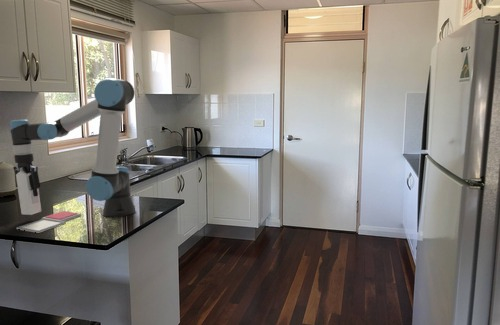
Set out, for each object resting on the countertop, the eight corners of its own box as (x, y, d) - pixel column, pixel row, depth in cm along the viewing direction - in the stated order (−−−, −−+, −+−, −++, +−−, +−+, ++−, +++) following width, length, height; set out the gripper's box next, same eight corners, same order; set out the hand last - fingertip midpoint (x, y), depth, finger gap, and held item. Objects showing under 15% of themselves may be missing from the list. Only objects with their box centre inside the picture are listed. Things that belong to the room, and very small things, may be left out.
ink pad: (81, 215, 197) (80, 212, 197) (60, 223, 187) (59, 219, 186) (63, 213, 202) (63, 210, 202) (42, 220, 192) (41, 217, 191)
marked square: (65, 223, 186) (65, 221, 186) (38, 233, 173) (38, 231, 173) (44, 220, 192) (44, 218, 192) (16, 229, 179) (16, 227, 179)
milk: (21, 214, 190) (14, 167, 186) (32, 210, 195) (25, 165, 192) (31, 215, 188) (24, 167, 184) (42, 211, 193) (35, 165, 190)
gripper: (45, 152, 186) (51, 201, 190) (17, 152, 194) (23, 199, 198) (30, 155, 180) (37, 206, 183) (1, 154, 188) (9, 203, 191)
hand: (30, 202), depth 191 cm, fingers closed on milk, 6 cm apart
